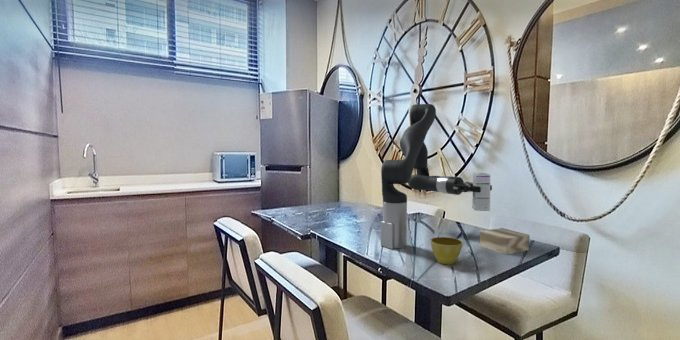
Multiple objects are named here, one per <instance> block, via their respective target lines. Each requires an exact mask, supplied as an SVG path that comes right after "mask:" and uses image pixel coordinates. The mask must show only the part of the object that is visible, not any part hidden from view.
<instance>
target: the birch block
mask: <svg viewBox="0 0 680 340" xmlns="http://www.w3.org/2000/svg"><path fill="white" fill-rule="evenodd" d="M479 247H483V248H485V249H488V250H491V251H495V252H498V253H500V254H504V255H511V254H516V252H517V253H521V251H522V252H526V250H527V251H530V234H527V233H525V232H520V231H515V230H511V229H507V228H503V227H501V228H494V229H488V230H487V229H486V230H481V231H479Z"/></svg>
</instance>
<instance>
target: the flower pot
mask: <svg viewBox="0 0 680 340" xmlns="http://www.w3.org/2000/svg"><path fill="white" fill-rule="evenodd" d="M430 246H431V249H432V253H433V254H434V258H435V259H436V261H437V262H438V263H440V264H442V265H454V264H455V262H456V261H457V260H458V258H459V256H460V254H461V251H462V247H463V241H462V240H461V239H458V238H454V237H447V236H438V237H432V238H430Z"/></svg>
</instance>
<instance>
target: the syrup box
mask: <svg viewBox="0 0 680 340" xmlns="http://www.w3.org/2000/svg"><path fill="white" fill-rule="evenodd" d="M472 182H473V186H478V187H481V192H472V209H473V210H474V211H478V212H490V211H491V191H490V185H491V174H489V173H487V172H475V173H474V172H473V174H472Z"/></svg>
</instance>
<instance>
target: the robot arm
mask: <svg viewBox="0 0 680 340" xmlns="http://www.w3.org/2000/svg"><path fill="white" fill-rule="evenodd" d="M436 114H437V109H436V107H435V105H433V104H432V103H418V104H413V105H411V107H410V109H409V126H408V127H407V128H406V129H405V130H404V131H403V134H402V136H401V138H400V140H399V148H400V150H401V152H402V153H403V155H404V158H403V159H386V160H384V161H383V162H382V165H381V171H380V174H381V176H380V177H381V193H382V194H381V195H382V221H380V247H384V248H387V249H391V250H393V249H404V248H406V247H407V245H408V244H407V241H408V239H407V237H408V235H407V233H408V232H407V229H408V228H407V225H408V224H407V222H408V213H407V212H408V196H407V194H406V193H404V192H403V191H400V190H398V189H397V188H396V187H395V185H406V184H408V187H409V188H411V189H413V190H415V191H430V192H431V191H432V192H435V193H436V192H437V193H442V194H447V195H455V196H456V195H457V196H459V195H462V193H471V192H472V193H473V192H481V187H478V186H473V181H472V182H470V181H464V180H463V178H462V177H460V176H459V177H458V176H452V175H451V176H450V175H448V176H447V175H442V176H441V175H430V172H429V168H428V159H429V158H428V156H429V152H428V148H427V145H426V144H425V140H426V137H427V134H428V132H429V130H430V129H431V127H432V125H433V123H434V121H435V119H436V116H437V115H436ZM414 170H416V173H415V174H413V172H414ZM492 189H493V185H492V184H490V192H491V191H492Z"/></svg>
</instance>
